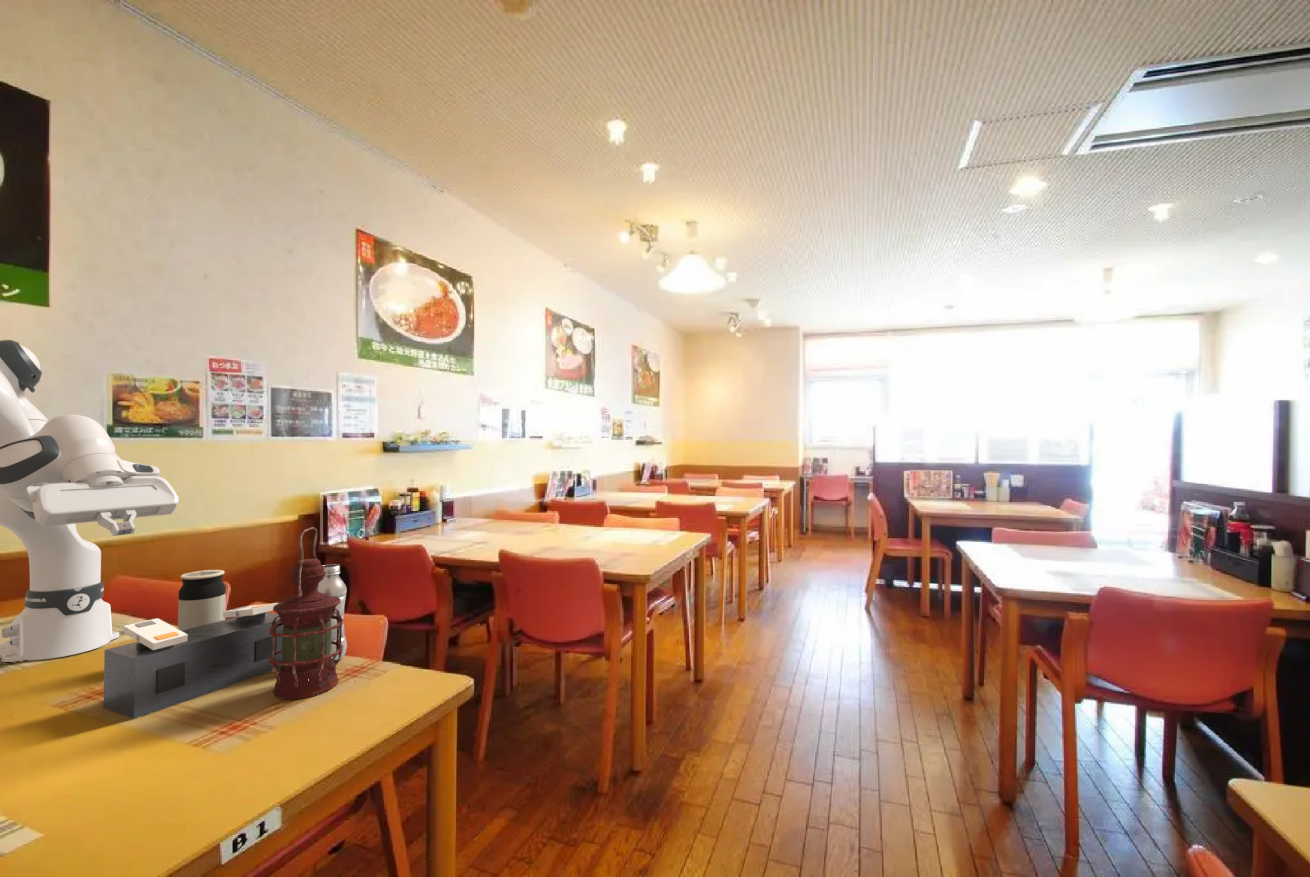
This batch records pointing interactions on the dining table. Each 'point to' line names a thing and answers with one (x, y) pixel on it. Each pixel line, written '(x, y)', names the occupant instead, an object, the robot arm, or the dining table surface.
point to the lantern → (306, 634)
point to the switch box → (189, 665)
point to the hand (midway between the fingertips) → (124, 532)
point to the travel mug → (201, 599)
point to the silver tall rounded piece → (337, 589)
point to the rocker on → (155, 633)
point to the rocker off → (249, 610)
